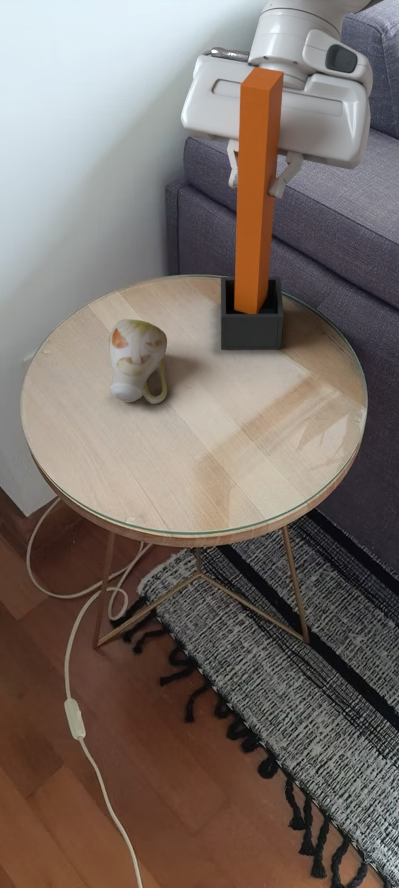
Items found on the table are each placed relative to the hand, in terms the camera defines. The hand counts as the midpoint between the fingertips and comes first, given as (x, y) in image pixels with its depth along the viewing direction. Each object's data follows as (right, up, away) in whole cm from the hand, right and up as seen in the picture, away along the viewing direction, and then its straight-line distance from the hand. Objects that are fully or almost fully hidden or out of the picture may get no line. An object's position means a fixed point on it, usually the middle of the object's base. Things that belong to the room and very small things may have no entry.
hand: (254, 192), depth 75 cm
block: (+1, -9, +13) cm, 16 cm away
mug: (-14, -19, +12) cm, 26 cm away
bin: (+1, -12, +17) cm, 21 cm away
